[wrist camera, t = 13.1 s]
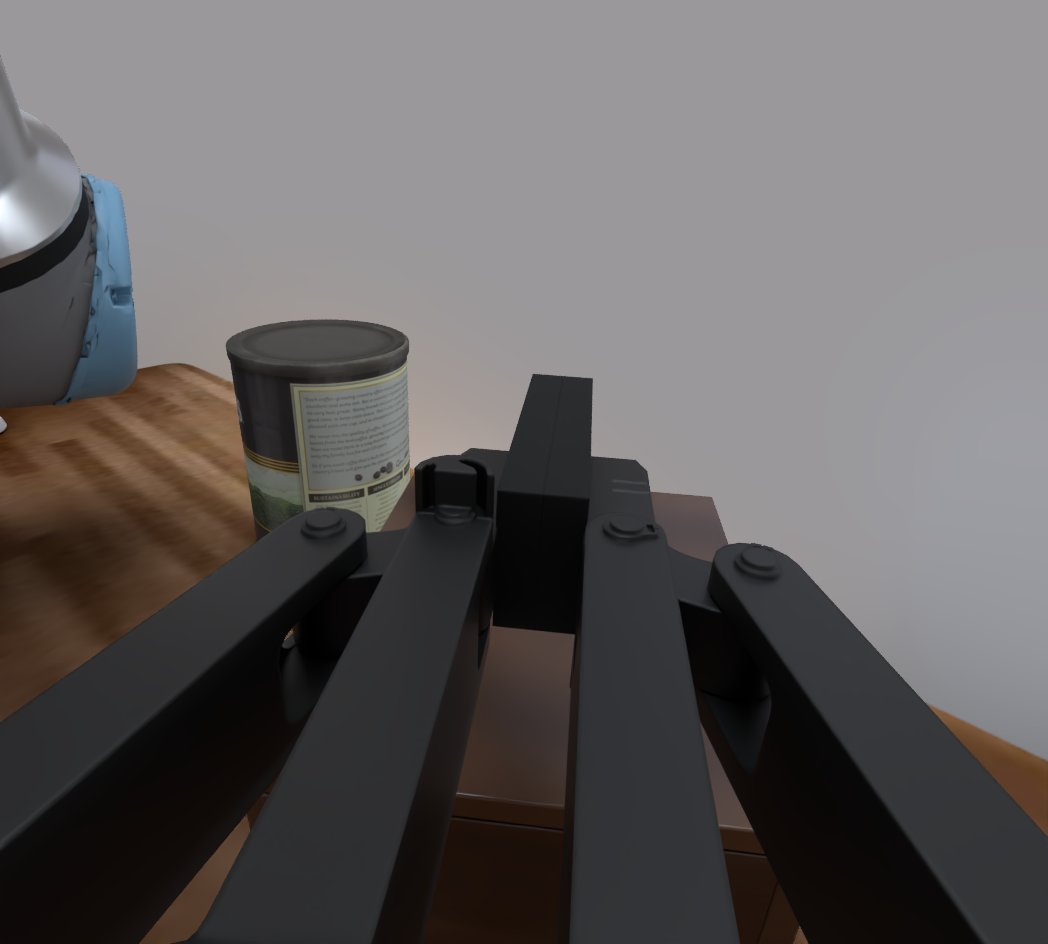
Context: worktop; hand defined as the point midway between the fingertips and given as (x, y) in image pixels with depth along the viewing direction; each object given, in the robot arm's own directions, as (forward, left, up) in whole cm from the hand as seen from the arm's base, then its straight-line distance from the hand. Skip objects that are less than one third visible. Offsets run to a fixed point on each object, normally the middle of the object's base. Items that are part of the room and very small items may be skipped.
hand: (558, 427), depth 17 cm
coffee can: (-26, -2, -18) cm, 32 cm away
